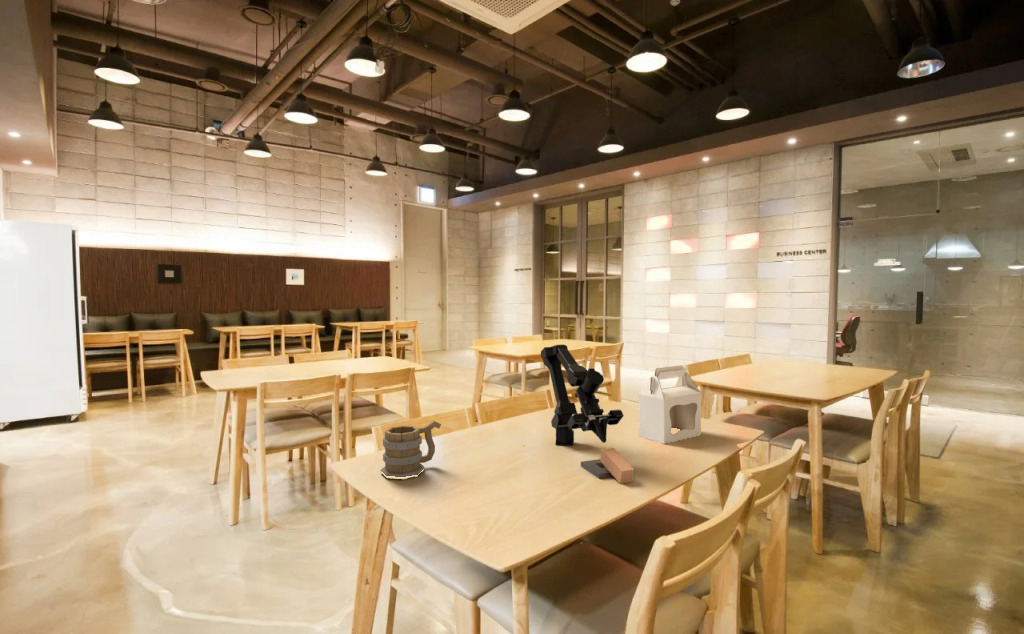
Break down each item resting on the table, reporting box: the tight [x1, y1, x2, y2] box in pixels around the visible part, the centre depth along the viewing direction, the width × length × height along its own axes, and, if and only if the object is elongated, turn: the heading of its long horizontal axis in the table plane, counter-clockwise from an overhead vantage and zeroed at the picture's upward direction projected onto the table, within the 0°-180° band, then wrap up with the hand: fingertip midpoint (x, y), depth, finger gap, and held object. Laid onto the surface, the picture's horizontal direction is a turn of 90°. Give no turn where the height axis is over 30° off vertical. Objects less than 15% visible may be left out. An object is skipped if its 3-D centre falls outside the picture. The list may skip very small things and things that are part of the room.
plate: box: [580, 458, 615, 480], centre depth 154 cm, size 12×12×2 cm
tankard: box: [380, 420, 442, 477], centre depth 155 cm, size 20×13×15 cm, turn 123°
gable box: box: [638, 365, 702, 445], centre depth 192 cm, size 22×13×28 cm, turn 122°
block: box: [599, 447, 635, 484], centre depth 148 cm, size 4×4×12 cm
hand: (604, 442), depth 154 cm, fingers closed
